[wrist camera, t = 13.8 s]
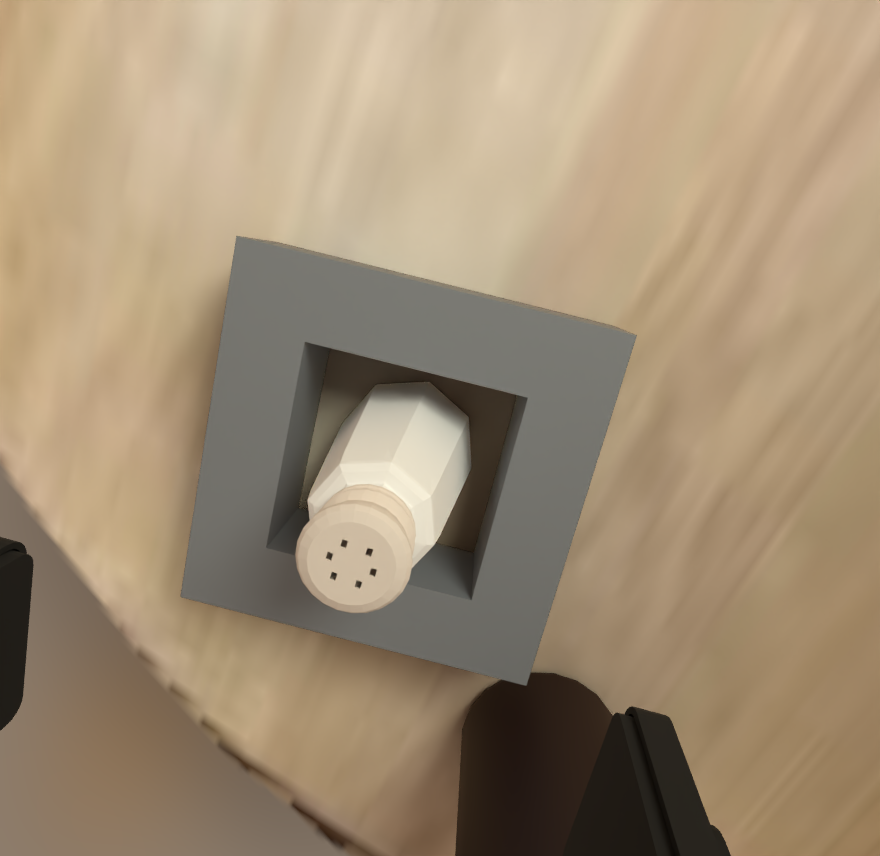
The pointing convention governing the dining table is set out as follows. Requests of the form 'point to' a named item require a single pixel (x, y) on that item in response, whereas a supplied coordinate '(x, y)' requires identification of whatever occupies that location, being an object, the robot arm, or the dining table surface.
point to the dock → (425, 349)
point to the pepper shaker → (383, 495)
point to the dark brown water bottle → (527, 765)
